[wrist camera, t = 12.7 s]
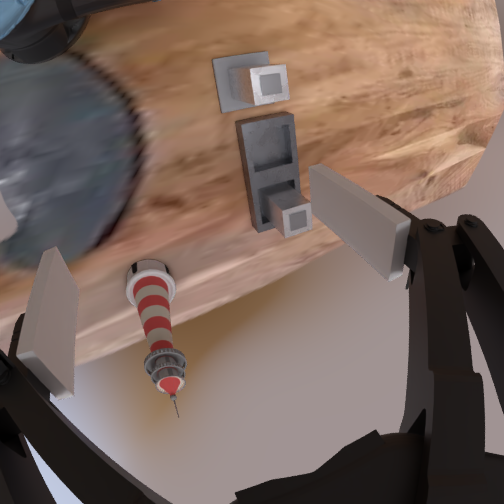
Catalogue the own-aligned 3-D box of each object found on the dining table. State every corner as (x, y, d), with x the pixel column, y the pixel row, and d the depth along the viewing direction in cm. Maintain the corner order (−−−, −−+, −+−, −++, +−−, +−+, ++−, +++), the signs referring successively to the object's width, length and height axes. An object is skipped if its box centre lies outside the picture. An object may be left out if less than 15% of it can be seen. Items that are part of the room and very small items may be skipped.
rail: (235, 121, 49) (241, 124, 47) (285, 111, 51) (293, 114, 49) (252, 225, 61) (258, 233, 58) (295, 212, 63) (302, 218, 60)
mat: (211, 59, 42) (212, 59, 42) (266, 51, 44) (267, 51, 44) (221, 112, 48) (222, 113, 47) (273, 102, 50) (274, 102, 49)
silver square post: (258, 187, 56) (283, 211, 48) (283, 180, 58) (311, 202, 49) (261, 212, 59) (285, 239, 51) (286, 204, 60) (313, 229, 52)
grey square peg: (227, 68, 43) (250, 68, 35) (257, 64, 45) (286, 64, 36) (232, 98, 46) (255, 105, 38) (261, 93, 47) (290, 99, 39)
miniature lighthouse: (181, 282, 62) (227, 414, 38) (143, 305, 61) (171, 440, 38) (155, 248, 56) (191, 388, 32) (115, 274, 56) (127, 418, 32)
